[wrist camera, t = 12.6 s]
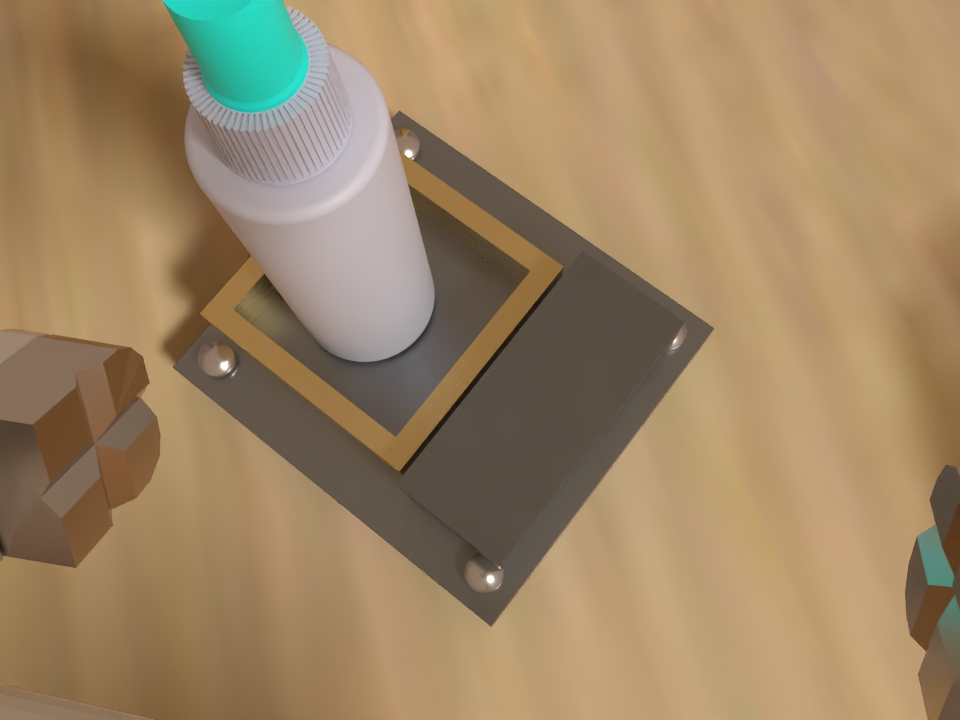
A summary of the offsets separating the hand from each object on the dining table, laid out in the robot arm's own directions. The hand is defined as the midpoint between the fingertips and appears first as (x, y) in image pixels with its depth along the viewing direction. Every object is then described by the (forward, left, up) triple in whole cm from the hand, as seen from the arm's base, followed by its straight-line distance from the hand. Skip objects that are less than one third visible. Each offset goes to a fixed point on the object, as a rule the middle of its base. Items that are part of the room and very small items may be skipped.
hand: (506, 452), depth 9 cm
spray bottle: (+5, +13, -30) cm, 33 cm away
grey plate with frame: (+6, +9, -32) cm, 33 cm away
